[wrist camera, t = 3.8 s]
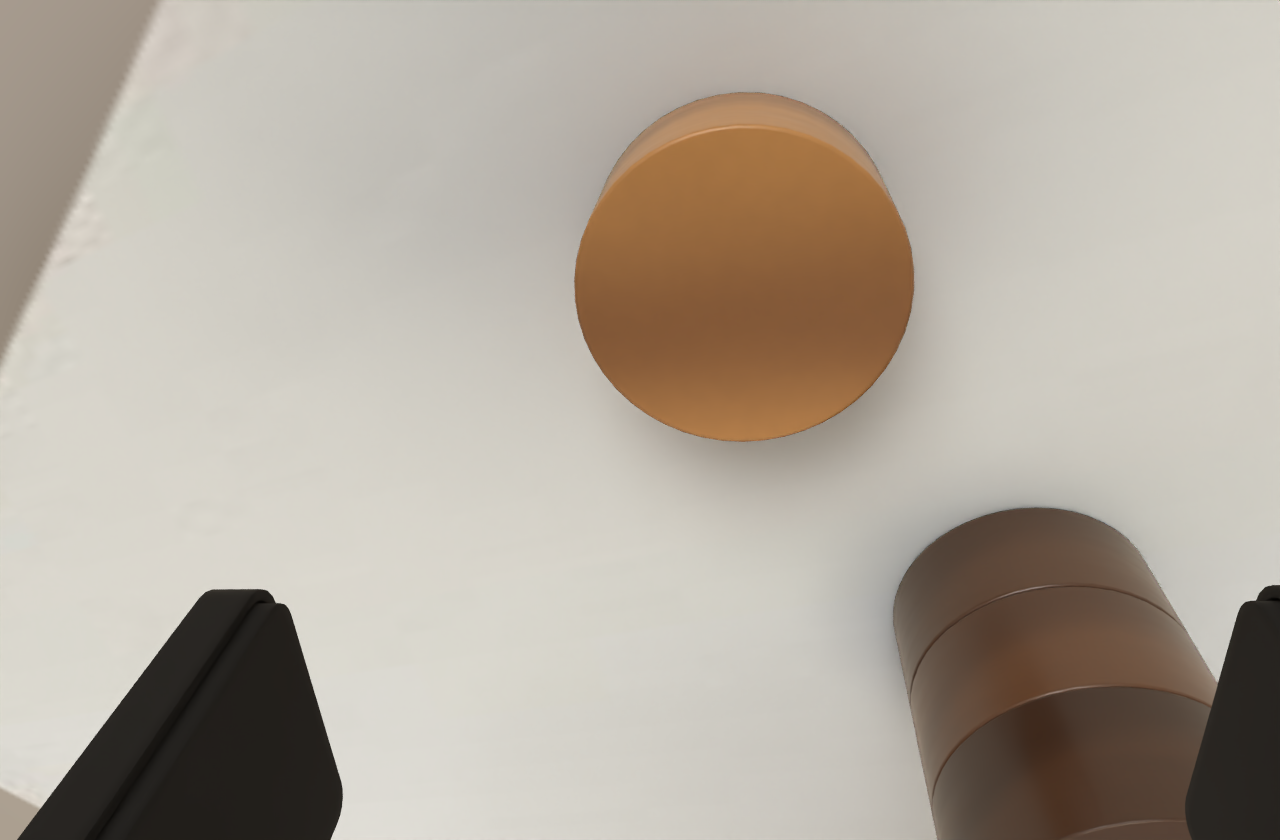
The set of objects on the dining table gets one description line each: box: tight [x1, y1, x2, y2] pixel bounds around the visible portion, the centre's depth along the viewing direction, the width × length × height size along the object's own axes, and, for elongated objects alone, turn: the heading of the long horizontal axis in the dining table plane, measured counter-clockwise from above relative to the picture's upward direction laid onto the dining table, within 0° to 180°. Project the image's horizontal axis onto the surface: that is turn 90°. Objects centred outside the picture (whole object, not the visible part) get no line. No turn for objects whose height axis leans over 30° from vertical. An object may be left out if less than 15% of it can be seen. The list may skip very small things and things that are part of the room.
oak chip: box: [574, 92, 914, 442], centre depth 20 cm, size 6×6×3 cm
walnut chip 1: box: [893, 508, 1192, 713], centre depth 24 cm, size 6×6×3 cm
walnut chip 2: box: [911, 586, 1218, 821], centre depth 21 cm, size 6×6×3 cm
